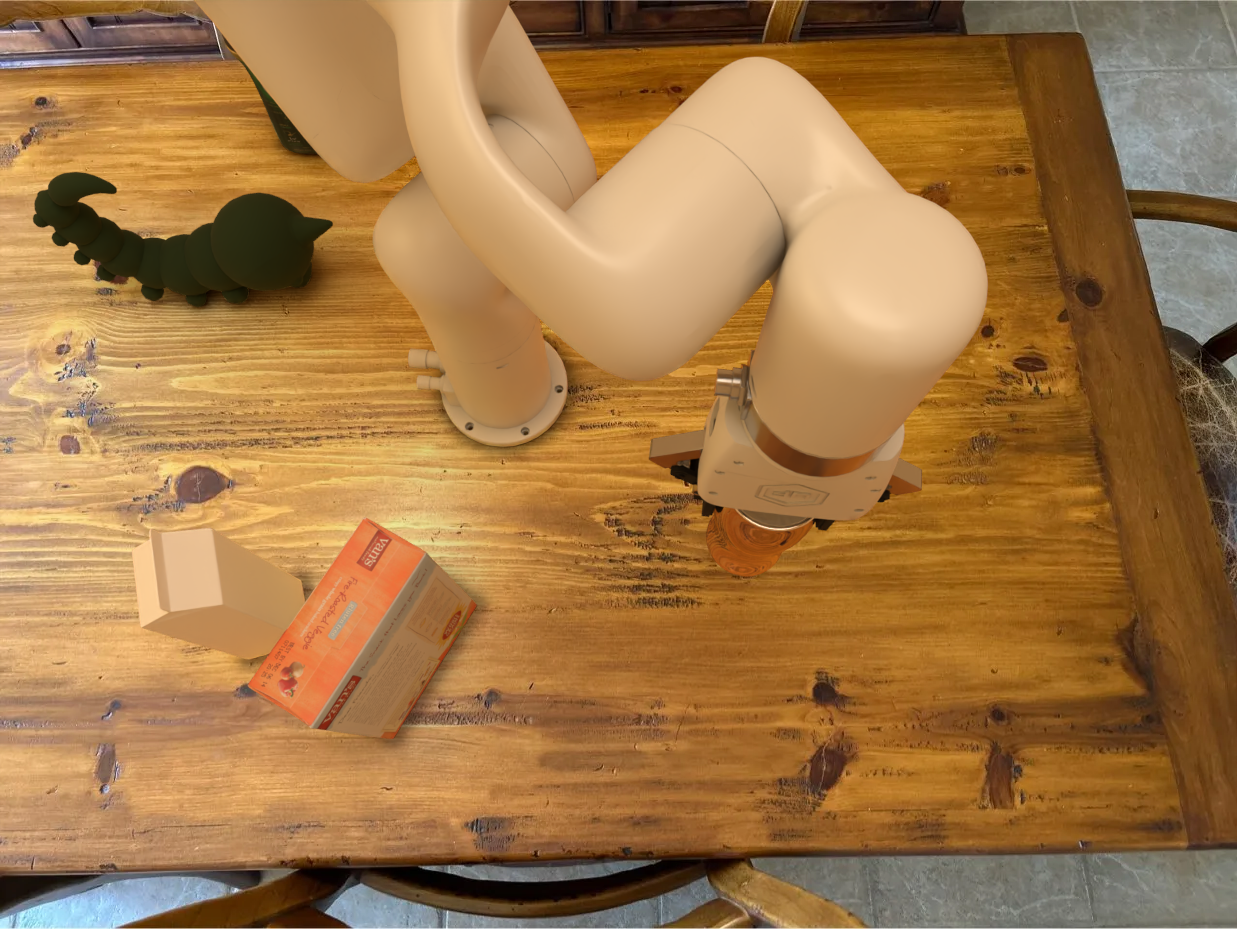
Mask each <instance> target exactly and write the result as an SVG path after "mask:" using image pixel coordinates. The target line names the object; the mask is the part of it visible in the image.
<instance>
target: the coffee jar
mask: <svg viewBox="0 0 1237 929" xmlns="http://www.w3.org/2000/svg"><path fill="white" fill-rule="evenodd" d="M220 33H221V32H220ZM221 37H222V39H223V42H224V44H225V47H226V48H227V50H228V51H229V53H230V54H231V55H232V56H233V57H234V58H235V59H236V60H237V61H238V62H240V63H241V65H242V66H243V67H244V69H245V71H246V72H247V74H248V75H249V77H250V78H251V80H252V82H253V84H254V86H255V89H256V91H257V93H258V95H259V97H260V99H261V101H262V104H263V106H264V108H265V111H266V113H267V115H268V117H269V120H270V123H271V125H272V127H273V130H274V132H275V134H276V137H277V138H278V140H279V141H280V144H281V145H282V146H283V148H284V149H286V150H287V151H289V152H291V153H293V154H294V153H295V154H299V155H318V153H317V152H316V151H315V150H314V149H313V148H312V146H311V145H310V144H309V143H308V142H307V141H306V139H305V138H304V137H303V136H302V135H301V133H300V132H299V131H298V130H297V128H296V127H295V126H294V125H293V123H292V122H291V121H290V120H289V118H288V117H287V116H286V115H285V113H284V112H283V111H282V109H281V108H280V107H279V106H278V104H277V103H276V102H275V101H274V99H273V98H272V97H271V96H270V94H269V93H268V92H267V91H266V89H265V88H264V87H263V86H262V84H261V83H260V82H259V80H258V79H257V78H256V77H255V75H254V74H253V73H252V72H251V70H250V69H249V68H248V66H247V65H246V64H245V63H244V61H243V60H242V59H241V58H240V56H239V55H238V54H237V52H236V51H235V50H234V49H233V47H232V46H231V45H230V44H229V42H228V41H227V40H226V38H225V37H224V36H223V35H222V33H221Z"/></svg>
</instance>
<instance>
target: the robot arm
mask: <svg viewBox="0 0 1237 929" xmlns="http://www.w3.org/2000/svg"><path fill="white" fill-rule="evenodd" d="M511 1H512V0H193V2H194V3H195V4H196V5H197V6H198V7H199V8H200V10H201V11H202V12H203V13H204V14H205V15H206V17H208V19H209V20H210V21H211V22H212V23H213V25H214V26H215V27H216V29H217V30H218V31H219V33H222V34H221V36H222V35H223V36H224V37H225V38H226V40H227V41H228V42H229V44H230V45H231V46H232V47H233V49H234V50H235V51H236V52H237V54H238V55H239V56H240V58H241V59H242V60H243V61H244V63H245V64H246V65H247V66H248V68H249V69H250V70H251V72H252V73H253V74H254V75H255V77H256V78H257V79H258V80H259V82H260V83H261V84H262V86H263V87H264V88H265V89H266V91H267V92H268V93H269V94H270V96H271V97H272V98H273V99H274V101H275V102H276V103H277V104H278V106H279V107H280V108H281V109H282V111H283V112H284V113H285V115H286V116H287V117H288V118H289V120H290V121H291V122H292V123H293V125H294V126H295V127H296V128H297V130H298V131H299V132H300V133H301V135H302V136H303V137H304V138H305V139H306V141H307V142H308V143H309V144H310V145H311V146H312V148H313V149H314V150H315V151H316V152H317V153H318V154H317V155H318V156H319V157H320V158H321V159H322V161H323V162H325V163H326V164H327V165H328V166H329V168H331V169H332V170H333V171H335V172H336V173H337V174H339V175H340V177H343V178H345V179H347V180H348V181H350V182H354V183H359V184H369V183H373V182H378V181H379V180H382V179H384V178H386V177H388V176H390V175H391V174H393V173H394V172H396V171H397V170H399V169H401V168H402V167H403V166H404V165H406V164H407V163H408V162H409V161H410V160H412V159H413V158H416V161H417V164H418V167H419V170H420V171H419V172H418V174H416V175H415V176H414V177H413V178H412V179H410V180H409V181H408V182H407V183H406V184H404V186H403V187H402V188H401V189H400V190H399V191H398V192H397V193H396V194H395V195H394V196H393V197H392V198H391V199H390V200H389V202H388V203H387V204H386V206H385V207H384V208H383V209H382V210H381V212H380V214H379V216H378V218H377V220H376V222H375V224H374V227H373V230H372V246H373V251H374V254H375V257H376V259H377V260H378V263H379V265H380V267H381V268H382V270H383V271H384V273H385V275H387V277H388V278H389V280H390V281H391V282H392V284H394V287H396V288H397V289H398V291H400V293H401V294H402V295H403V296H404V297H405V299H406V300H407V301H408V303H409V304H410V305H411V307H413V309H414V310H415V312H416V314H417V315H418V317H419V319H420V321H421V323H422V325H423V327H424V330H425V331H426V334H427V336H428V338H429V340H430V341H431V344H432V346H433V348H434V350H431V349H425V348H424V349H423V348H414V347H413V348H410V349H409V351H408V353H407V354H408V355H407V363H408V367H409V368H410V369H423V370H429V369H435V370H439V371H440V373H441V376H440V377H439V376H432V375H421V374H418V375H417V377H416V389H418V390H424V391H433V390H434V391H440V394H441V401H442V404H443V407H444V410H445V412H446V414H447V416H448V418H449V419H450V421H451V423H452V424H453V425H454V427H456V428H457V430H458V431H459V432H461V433H462V434H463V435H464V436H466V437H467V438H469V439H471V440H472V441H474V442H476V443H479V444H482V445H485V446H489V447H500V448H505V447H506V448H507V447H515V446H518V445H522V444H526V443H528V442H530V441H532V440H535V439H537V438H539V437H540V436H541V435H543V434H544V433H546V432H547V431H548V430H550V428H551V427H552V426H553V425H554V424H555V423H556V421H558V419H559V417H560V416H561V414H562V413H563V409H564V407H565V404H566V402H567V398H568V391H569V386H568V385H569V384H568V383H569V382H568V376H567V371H566V370H567V369H566V367H565V364H564V362H563V360H562V358H561V356H560V354H559V353H558V352H557V351H556V349H555V348H554V347H553V346H552V345H551V344H550V342H548V341H547V340H545V338H544V335H543V328H542V324H541V322H542V323H543V324H544V325H545V326H546V327H547V328H548V329H550V331H552V332H553V333H554V334H555V335H556V336H557V337H558V338H559V339H560V340H562V341H563V342H564V343H565V344H566V345H568V346H569V347H570V348H571V349H573V350H574V351H575V352H576V353H577V354H579V355H580V356H581V357H583V358H584V359H585V360H586V361H588V362H589V363H590V364H592V365H593V366H595V367H597V368H598V369H600V370H602V371H604V372H606V373H608V374H610V375H612V376H615V377H617V378H619V379H622V380H627V381H634V382H645V381H648V382H649V381H654V380H658V379H661V378H663V377H665V376H668V375H669V374H672V373H673V372H676V371H677V370H679V369H680V368H681V367H683V366H684V365H685V364H687V363H688V362H689V361H690V360H691V359H692V358H694V356H696V355H697V354H698V353H699V352H700V351H701V350H702V349H703V348H704V347H705V346H706V345H707V344H708V343H709V342H710V341H711V340H712V339H713V338H714V337H715V336H716V335H717V333H718V332H719V331H720V330H721V329H722V328H723V327H724V326H725V325H726V324H727V323H728V322H729V321H730V320H731V319H732V318H733V317H734V316H735V315H736V313H737V312H738V311H740V309H741V308H742V307H743V306H744V305H745V304H746V303H747V302H748V301H749V300H750V299H751V298H752V297H753V295H755V294H756V292H757V291H758V290H760V289H761V287H762V286H763V285H764V284H765V283H766V282H768V281H769V283H770V285H771V287H772V295H771V297H770V301H769V304H768V307H767V309H766V314H765V316H764V319H763V322H762V326H761V329H760V331H759V332H760V333H759V336H758V339H757V343H756V345H755V349H750V352H749V356H748V358H747V362H746V363H741V364H740V367H735V366H733V367H731V368H732V369H726V368H717V369H716V373H715V379H714V388H713V396H714V397H715V396H716V398H715V400H714V401H713V403H712V405H711V407H710V409H709V412H708V414H707V416H706V419H705V422H704V426H703V429H698V430H693V431H687V432H682V433H677V434H672V435H665V436H659V437H654V438H651V439H650V444H649V452H648V461H650V462H651V463H654V464H656V465H657V466H660V467H661V468H663V469H669V470H670V472H669V474H670V475H671V476H672V477H674V479H676V480H680V481H683V482H685V483H687V484H690V485H692V486H691V493H692V495H693V497H692V499H693V500H696V501H702V504H701V517H706V518H707V517H708V518H710V516H713V515H714V514H713V512H714V509H715V507H716V505H717V506H721V507H727V508H734V509H741V510H749V511H757V512H765V513H774V514H782V515H791V516H800V517H809V518H817V520H816V522H815V523H814V525H815V528H817V530H818V531H825V532H826V531H828V530H829V528H831V526H832V525H833V524H834V523H835V522H836V521H854V520H858V519H860V518H861V517H863V516H865V515H867V514H868V513H869V512H870V511H871V510H872V509H873V508H874V507H875V505H876V504H877V503H881V504H882V503H885V501H888V500H890V499H891V495H895V496H901V495H907V494H912V493H918V492H921V491H923V490H922V489H923V469H922V468H920V467H918V466H916V465H914V464H912V463H910V462H908V461H907V460H904V459H902V458H901V457H900V456H901V454H902V450H903V446H904V441H905V429H906V428H905V422H906V420H908V418H909V417H910V415H911V414H912V413H913V412H914V411H915V410H916V408H917V407H918V406H919V404H920V403H922V401H923V400H924V399H925V397H926V396H927V395H928V394H929V393H930V392H931V390H932V389H933V388H934V387H935V385H936V384H937V383H938V381H940V379H941V378H942V377H943V376H944V374H945V373H946V372H947V371H948V370H949V368H950V367H951V366H952V365H953V363H954V362H955V361H956V360H957V359H958V357H959V356H960V355H961V354H962V353H963V351H964V350H965V349H966V348H967V346H968V344H969V343H970V342H971V340H972V338H973V337H974V335H975V334H976V332H977V331H978V329H979V327H980V324H981V323H982V319H983V317H984V313H985V310H986V306H987V301H988V288H989V282H988V280H989V279H988V273H987V268H986V262H985V260H984V257H983V254H982V251H981V249H980V247H979V246H978V244H977V243H976V240H975V239H974V237H973V235H972V234H971V233H970V232H969V231H968V228H966V227H965V226H964V224H963V223H962V222H961V221H960V220H959V219H958V218H956V217H955V216H954V215H953V214H952V213H951V212H950V211H948V210H947V209H945V208H944V207H942V206H940V205H939V204H937V203H936V202H934V201H931V200H930V199H927V198H924V197H923V196H920V195H917V194H914V193H910V192H907V190H906V189H904V187H903V186H902V185H901V184H900V183H899V182H898V181H897V180H896V178H894V177H893V176H892V174H890V172H889V171H888V170H887V169H886V168H885V167H884V166H883V165H882V163H881V162H879V160H878V159H877V158H876V157H875V155H874V154H873V153H872V152H871V151H870V150H869V149H868V147H867V146H866V145H865V144H864V142H863V141H862V140H861V138H859V136H858V135H857V134H856V133H855V132H854V131H853V130H852V128H851V127H850V126H849V125H848V122H846V121H845V120H844V118H843V117H842V116H841V114H840V113H839V112H838V111H837V110H836V109H835V107H834V106H833V105H832V104H831V103H830V102H829V100H827V99H826V97H825V96H824V95H823V94H822V93H821V92H820V91H819V90H818V89H817V88H816V87H815V86H814V85H813V84H812V83H811V82H810V81H809V80H808V79H807V78H806V77H804V76H803V75H801V74H800V73H798V71H796V70H795V69H794V68H792V67H790V66H789V65H786V64H784V63H783V62H780V61H778V60H776V59H773V58H769V57H765V56H747V57H744V58H740V59H736V60H734V61H733V62H730V63H729V64H726V65H725V66H723V67H722V68H720V69H719V70H718V71H717V72H716V73H714V74H712V75H711V76H710V77H709V78H708V79H707V80H705V82H704V83H702V85H700V86H699V87H698V88H697V89H696V90H695V91H694V92H693V93H692V94H690V95H689V97H688V98H686V100H684V101H683V102H681V104H680V105H679V106H678V107H677V108H675V110H673V112H672V113H671V114H669V116H667V117H666V118H665V119H664V120H663V121H662V122H661V123H660V124H658V125H657V127H655V128H653V129H651V130H650V131H649V132H648V133H647V134H646V135H645V136H644V137H643V138H642V139H641V140H640V141H639V142H638V143H637V144H636V145H635V146H634V147H632V148H631V149H630V150H629V151H628V152H627V153H626V154H624V156H623V157H621V158H620V159H619V160H618V161H617V162H616V163H615V164H614V165H613V166H612V167H611V168H610V169H608V171H607V172H606V173H605V174H604V175H603V176H601V178H599V180H598V172H597V166H596V165H597V164H596V162H595V158H594V156H593V153H592V150H591V149H590V148H591V147H590V146H589V144H588V142H587V140H586V138H585V136H584V134H583V133H582V130H581V129H580V127H579V125H578V123H577V122H576V119H575V118H574V116H573V114H572V112H571V111H570V109H569V107H568V105H567V104H566V102H565V100H564V98H563V97H562V95H561V93H560V91H559V90H558V88H557V86H556V85H555V83H554V81H553V79H552V78H551V76H550V74H549V72H548V70H547V68H546V67H545V65H544V63H543V61H542V59H541V58H540V56H539V54H538V53H537V51H536V49H535V47H534V45H533V44H532V42H531V40H530V38H529V36H528V35H527V32H526V31H525V30H524V28H523V26H522V24H521V23H520V21H519V18H517V15H516V14H515V12H514V11H513V9H512V8H511V6H510V3H511ZM559 391H560V392H559ZM471 428H472V429H471ZM525 433H527V434H525Z"/></svg>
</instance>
